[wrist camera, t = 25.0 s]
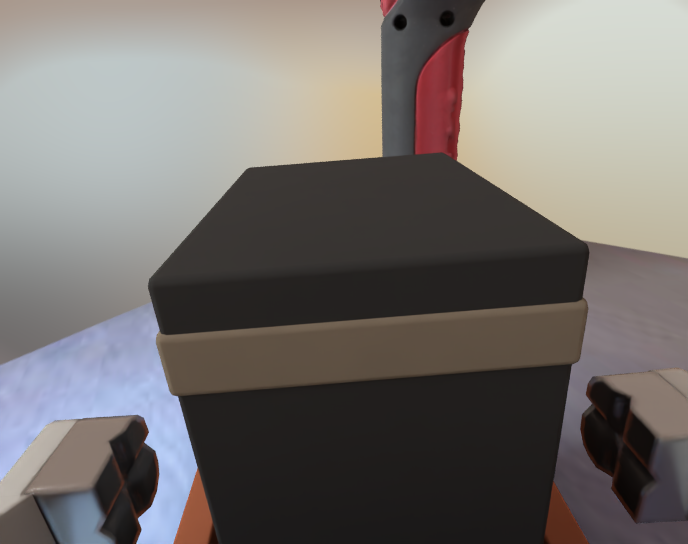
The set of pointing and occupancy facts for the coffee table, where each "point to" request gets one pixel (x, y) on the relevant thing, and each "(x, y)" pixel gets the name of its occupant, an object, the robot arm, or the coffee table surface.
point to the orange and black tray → (201, 540)
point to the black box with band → (373, 354)
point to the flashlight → (423, 74)
